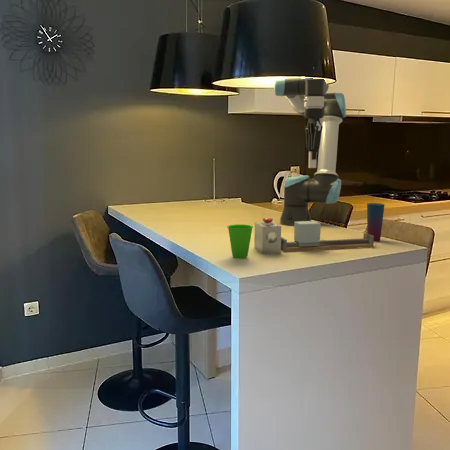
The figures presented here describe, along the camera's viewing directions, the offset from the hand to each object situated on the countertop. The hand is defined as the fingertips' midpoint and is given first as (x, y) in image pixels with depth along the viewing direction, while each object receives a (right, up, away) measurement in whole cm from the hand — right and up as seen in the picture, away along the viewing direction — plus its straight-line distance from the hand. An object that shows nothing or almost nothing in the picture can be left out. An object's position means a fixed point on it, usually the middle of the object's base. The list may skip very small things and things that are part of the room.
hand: (312, 167), depth 202 cm
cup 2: (+25, -30, +2) cm, 39 cm away
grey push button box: (-20, -33, -18) cm, 42 cm away
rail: (+3, -32, -13) cm, 34 cm away
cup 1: (-30, -35, -28) cm, 54 cm away
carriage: (-5, -31, -15) cm, 34 cm away
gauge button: (-20, -29, -19) cm, 39 cm away
